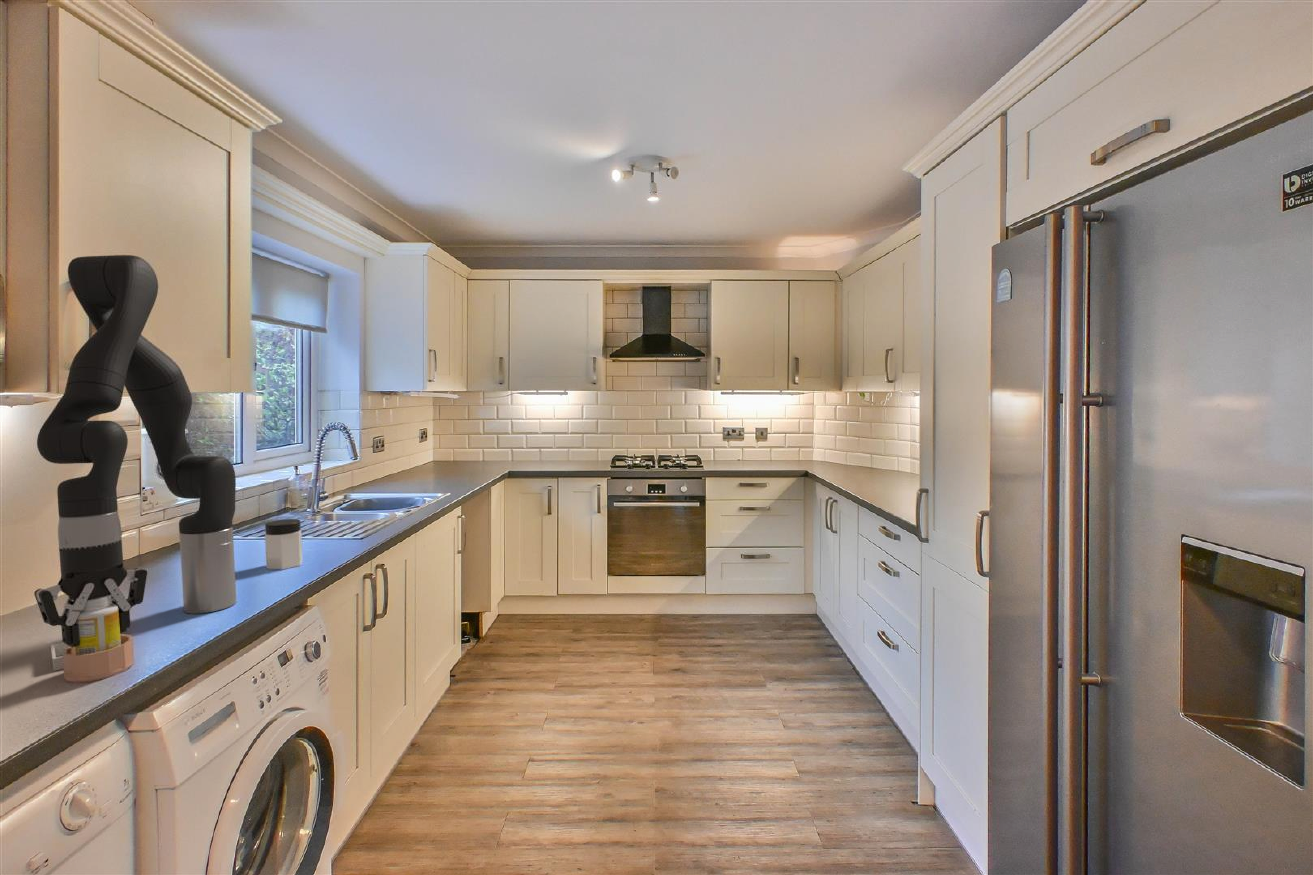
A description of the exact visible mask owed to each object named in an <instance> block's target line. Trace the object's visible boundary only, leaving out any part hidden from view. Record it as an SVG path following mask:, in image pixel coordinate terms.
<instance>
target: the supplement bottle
mask: <svg viewBox="0 0 1313 875" xmlns="http://www.w3.org/2000/svg"><path fill="white" fill-rule="evenodd" d="M75 624H78V636H79V646H76V647H75V650H76V655H82V654H91V653H96V652H100V651H105V650H109V649H111V648H114V647H117V646H120V645H121V637H120V634H121V633H120V622H119V609H118V606H117V605H116V604H112V599H111V595H108V596H104V597H100V598H96V599H92V600H87V601H86V604H85V606H84V608H83V610H82V611H81V612H80V613H79V615H78V618H77V620H76V622H75Z"/></svg>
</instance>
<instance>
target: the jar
mask: <svg viewBox="0 0 1313 875" xmlns="http://www.w3.org/2000/svg"><path fill="white" fill-rule="evenodd" d="M301 526H302V525H301V520H300V519H298V518H297V519H295V518H294V519H293V518H288V519H276V520H272V521H268V522H266V523H265V524H264V533H265V535H264V543H265V565H266V569H267V570H283V571H284V570H286V569H291V568H295V567H300V566H301V565H302V563H303V540H302V539H303V538H302V529H301Z"/></svg>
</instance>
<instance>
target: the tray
mask: <svg viewBox="0 0 1313 875" xmlns="http://www.w3.org/2000/svg"><path fill="white" fill-rule="evenodd" d="M68 647H70V646H68V645H67V644H64V642H60V643H55V644H51V645H50V651H51V653H50V654H51V661H52V663H51V664H52V668H53V672H56V671H61V670H64V669H63V650H64V649H66V648H68Z"/></svg>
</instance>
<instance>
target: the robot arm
mask: <svg viewBox="0 0 1313 875" xmlns="http://www.w3.org/2000/svg"><path fill="white" fill-rule="evenodd" d="M67 276H68V281H69V284H70V287H71V289H72V291H73V293H74V296H75V298H76V299H77V301H78V302H79V304H80V306H81V307H82V309H83V311H84V312H85V314H86V316H87V318H89V321H90V322H91V323H92V326H93V327H94V329H95V330H96V332H95V333H94V334H92V336H91V337H90V338H89V339H88V340H87V341H86V342H85V343H84V344H83V345H82V346H81V347H80V348H79V349H78V351H77V353H76V354H75V356H74V357H73V359H72V362H71V365H70V368H69V372H68V376H67V380H66V385H65V389H64V393H63V394H62V396H61V398H60V399H59V401H58V402H57V404H56V405H55V407H54V408H53V410H52V411H51V413H50V414H49V415H48V417H47V418H46V420H45V421H44V422H43V424H42V426H41V427H40V429H39V432H38V434H37V439H36V446H37V450H38V452H39V455H40V456H41V457H42V458H43V459H44V460H45V461H47V462H49V463H52V464H60V465H70V464H71V465H72V464H92V467H91V470H90V471H89V472H88V474H87V475H84V476H79V477H74V478H69V479H65V480H63V481H61V482H60V483H59V484H58V485H57V488H56V492H57V507H58V510H57V511H58V524H57V538H58V539H57V540H58V552H59V563H60V564H59V565H60V579H59V581H58V583H57V584H56V585H53V586H49V587H47V588H37V589H35V591H34V597H35V600H36V601H35V602H36V603H37V606H38V609H39V612H40V615H41V618H42V620H43V622H44V623H45V624H48V625H50V626H52V627H56V626H60V627H61V638H62V643H64V644H67V645H68V646H70V647H76V646H79V636H78V624H75V622H76V620H77V618H78V615H79V613H80V612H81V611H82V610H83V608H84V606H85V604H86V601H87V600H92V599H96V598H100V597H104V596H108V595H111V599H112V604H116V605H117V606H118V609H119V622H120V634H125V633H127V629H129V628H130V627H131V615H130V611H131V609H132V608H133V607H135V606H137V605H140V604H142V603H143V601H144V596H145V589H146V583H147V582H146V581H147V577H148V576H147V575H148V570H147V569H143V568H140V567H135V568H133V569H126V568H125V566H124V556H123V554H124V553H123V538H122V536H123V530H122V525H121V519H120V516H119V510H118V509H119V508H118V506H119V505H118V495H117V486H118V481H119V476H120V473H121V467H122V465H123V462H124V458H125V456H126V452H127V448H128V443H129V441H128V435H127V433H126V430H125V429H124V427H123V426H121V425H120V424H119V423H117V422H115V421H112V420H90V419H91V418H93V417H95V416H99V415H104V414H108V413H112V412H114V411H117V410H118V409H119V408H120V405H121V403H122V399H123V394H124V389H126V391H127V394H128V396H129V398H130V400H131V402H132V404H133V406H134V408H135V409H136V412H137V413H138V415H139V417H140V420H141V422H142V424H143V426H144V428H145V431H146V433H147V436H148V438H149V440H150V443H151V445H152V448H153V451H154V454H155V456H156V460H157V463H158V465H159V469H160V471H161V474H162V478H163V480H164V483H165V485H166V486H167V489H168V490H169V491H170V493H171V494H172V495H174V496H176V497H177V498H181V499H189V500H196V499H197V500H198V499H199V507H198V510H197V511H196V512H194V513H192V514H190V515H186V516H183V517H182V518H181V519H180V520H179V522H178V534H179V546H180V547H179V548H180V549H179V550H180V552H179V553H180V567H181V580H182V581H181V583H182V584H181V585H182V599H183V611H184V613H186V614H206V613H210V612H211V613H212V612H216V611H221V610H224V609H227V608H229V607H231V606H233V605H235V604H236V603H237V589H236V588H237V587H236V570H235V569H236V566H235V547H234V532H233V531H234V530H233V528H234V527H233V525H234V524H233V521H234V520H233V519H234V517H235V513H236V489H237V488H236V486H237V485H236V471H235V468H234V465H233V464H232V462H231V461H230V460H229V459H228V458H226V457H223V456H215V455H214V456H212V455H211V456H210V455H209V456H208V455H207V456H205V455H202V456H201V455H197V456H196V454H194V453H193V452H194V451H192V448H191V446H190V444H189V442H188V439H187V434H186V428H187V423H188V421H189V418H190V414H191V410H192V405H193V397H192V393H191V390H190V388H189V385H188V383H187V381H186V378H185V375H184V374H183V372H182V369H181V367H180V366H179V365H178V364H177V363H176V362H175V361H174V360H173V359H172V358H171V357H170V356H169V355H168V354H166V353H165V352H164V351H163V350H161V349H160V348H159V347H157V346H156V345H155V344H154V343H152V342H151V341H150V340H148V339H147V338H146V337H145V336H144V335H142V332H144V328H145V326H146V323H147V322H148V320H149V317H150V315H151V313H152V310H153V308H154V306H155V303H156V301H157V298H158V294H159V293H158V292H159V280H158V277H157V274H156V272H155V269H154V268H153V267H152V266H151V264H150V263H149V262H148V261H147V260H145V259H144V258H142V257H140V256H136V255H131V254H115V255H114V254H113V255H112V254H111V255H87V256H78V257H75V258H73V259H72V260H71V261H70V262H69V263H68V268H67ZM126 578H127V581H128V582H130V583H129V588H128V596H127V598H126V596H125V595H124V594H123V592H122V590H121V589H120V588H119V587H120V586H121V585H122V583H123V582H124V581H125V579H126ZM60 592H63V593H64V594H65V595H66V596H67V599H66V601H65V603H64V605H63V610H62V613H61V615H59V612H58V610H57V606H56V604H55V601H56V600H57V599H58V596H59V593H60Z"/></svg>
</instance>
